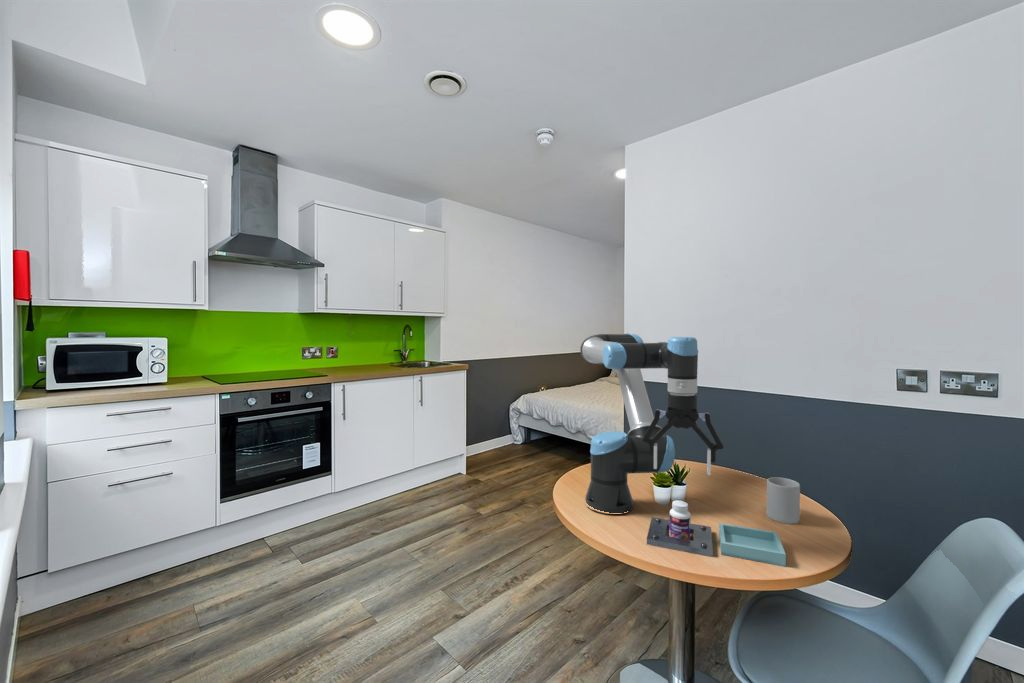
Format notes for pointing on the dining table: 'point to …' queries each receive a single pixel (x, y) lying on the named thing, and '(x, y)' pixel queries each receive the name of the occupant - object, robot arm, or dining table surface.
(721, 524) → the tray
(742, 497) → the dining table surface
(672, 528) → the pill bottle
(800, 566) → the dining table surface
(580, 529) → the dining table surface
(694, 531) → the plate
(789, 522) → the mug
